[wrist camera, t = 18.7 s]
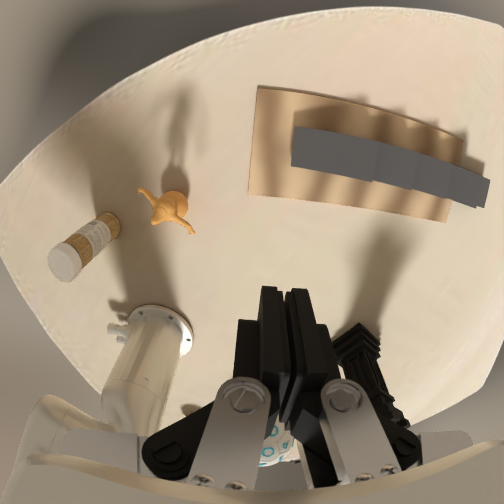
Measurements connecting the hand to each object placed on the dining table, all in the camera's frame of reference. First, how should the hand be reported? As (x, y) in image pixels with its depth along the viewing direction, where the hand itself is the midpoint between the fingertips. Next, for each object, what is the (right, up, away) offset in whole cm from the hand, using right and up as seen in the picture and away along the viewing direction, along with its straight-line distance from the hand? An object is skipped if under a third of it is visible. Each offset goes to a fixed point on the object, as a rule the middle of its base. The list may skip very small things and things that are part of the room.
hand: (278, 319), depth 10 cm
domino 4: (+23, +14, +21) cm, 34 cm away
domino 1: (+4, +15, +21) cm, 26 cm away
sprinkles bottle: (-23, +7, +28) cm, 37 cm away
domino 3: (+16, +14, +21) cm, 30 cm away
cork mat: (+15, +15, +22) cm, 31 cm away
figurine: (-11, +10, +26) cm, 30 cm away
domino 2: (+10, +15, +21) cm, 28 cm away
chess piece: (+18, -15, +37) cm, 44 cm away
